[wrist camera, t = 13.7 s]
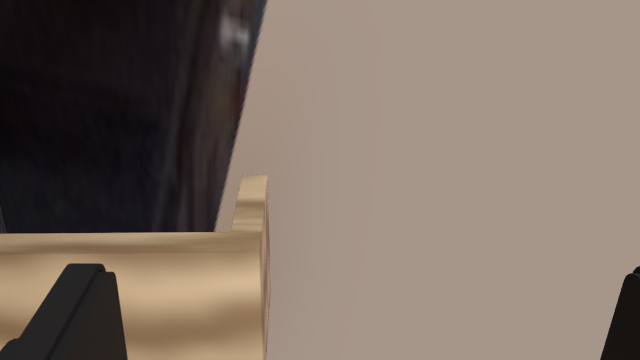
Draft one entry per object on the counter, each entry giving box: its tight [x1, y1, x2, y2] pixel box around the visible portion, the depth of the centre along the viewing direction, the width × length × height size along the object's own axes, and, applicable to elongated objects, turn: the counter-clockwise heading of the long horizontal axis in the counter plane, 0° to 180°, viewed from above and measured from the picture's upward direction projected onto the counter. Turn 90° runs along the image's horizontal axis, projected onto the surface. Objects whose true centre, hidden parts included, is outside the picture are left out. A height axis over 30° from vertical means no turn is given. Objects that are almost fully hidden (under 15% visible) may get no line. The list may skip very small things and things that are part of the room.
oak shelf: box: [0, 175, 271, 360], centre depth 42 cm, size 11×21×12 cm, turn 89°
